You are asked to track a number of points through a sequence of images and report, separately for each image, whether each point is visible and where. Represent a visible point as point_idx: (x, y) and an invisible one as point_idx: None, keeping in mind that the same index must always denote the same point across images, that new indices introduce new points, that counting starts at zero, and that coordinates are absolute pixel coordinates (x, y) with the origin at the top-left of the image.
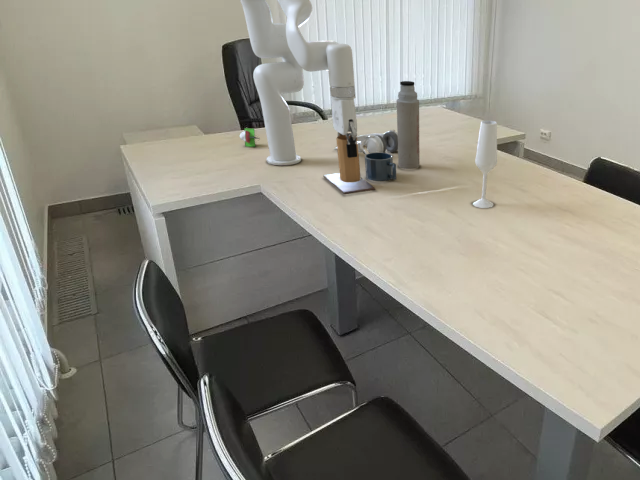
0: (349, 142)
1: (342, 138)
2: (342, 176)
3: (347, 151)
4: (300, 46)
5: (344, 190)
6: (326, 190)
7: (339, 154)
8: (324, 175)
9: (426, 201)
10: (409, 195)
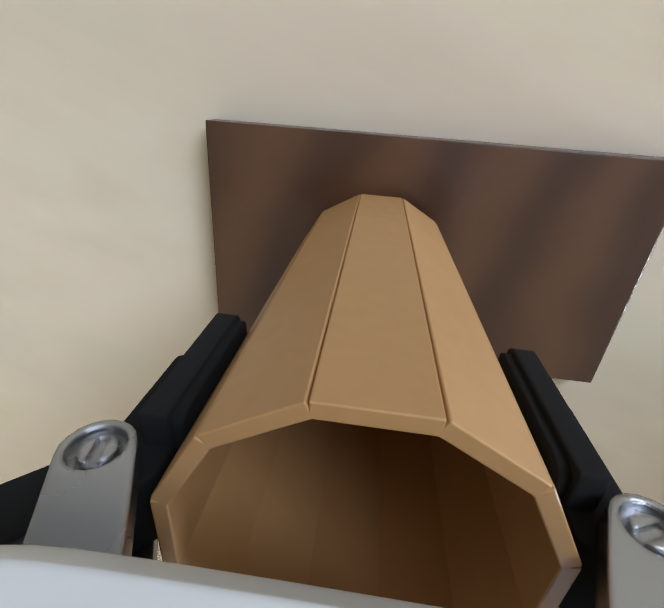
0: (63, 463)
1: (535, 527)
2: (350, 205)
3: (190, 347)
4: None
5: (240, 143)
6: (393, 45)
7: (346, 267)
8: None
9: (30, 428)
10: (119, 417)
